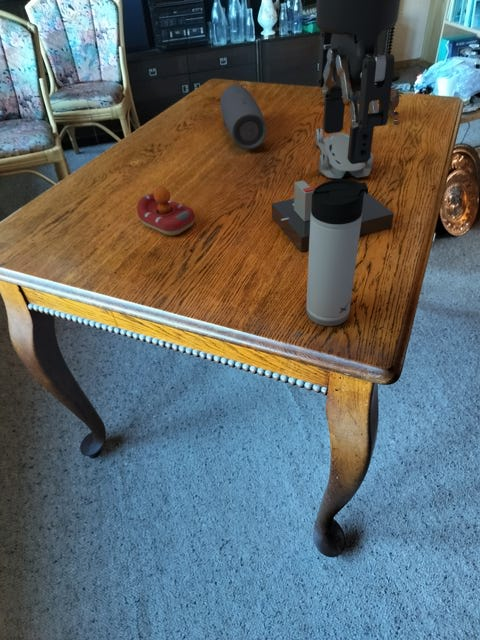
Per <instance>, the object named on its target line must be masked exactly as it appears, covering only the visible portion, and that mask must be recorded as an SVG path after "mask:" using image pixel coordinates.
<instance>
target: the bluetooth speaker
mask: <svg viewBox="0 0 480 640" xmlns="http://www.w3.org/2000/svg"><path fill="white" fill-rule="evenodd" d="M219 101H220V102H219V106H220V111H221V117H222V120H223V122H224V123H223V124H224V125H225V128H226V130H227V132H228V133H229V135H230V137H231V140H232V141H233V143H235V144H236V145H237V146H238V148H241V149H243V150H253V149H256V148H258V147H260V146H261V145H262V144H263V143H264V141H265V139H266V137H267V133H268V129H267V122H266V119H265V117H264V115H263V112H262V110H261V108H260V107H259V104H258V102H257V101H256V99H255V98H254V96H253V95H252V94H251V93H250V91H249V90H248V89H247V88H245V87H244V86H242V85H240V84H232V85H229V86H227V87H226V88H225V89H224V90H223V91H222V94H221V95H220V100H219Z"/></svg>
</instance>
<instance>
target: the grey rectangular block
mask: <svg viewBox="0 0 480 640" xmlns="http://www.w3.org/2000/svg"><path fill="white" fill-rule="evenodd" d="M314 189H315V188H313V187H312V186H311V185H309V184H308V182H306V181H305V180H304V179H303V180H298V181H294V186H293V190H294V191H293V198H294V211H295V212H296V213H297V214H298V215H299V216H300V217H301V218H302V220H303V221H304V222H305V221H309V220H310V217H311V206H312V194H313V191H314Z"/></svg>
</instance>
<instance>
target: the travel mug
mask: <svg viewBox="0 0 480 640" xmlns="http://www.w3.org/2000/svg"><path fill="white" fill-rule="evenodd" d="M313 189H314V191H313V194H312V206H311V217H310V239H309V250H308V262H307V266H308V267H307V282H306V284H307V285H306V305H305V306H306V307H305V313H306V316H307V317H308V319H309V320H310V321H311V322H313V323H315V324H316V325H320V326H324V327H335V326H340V325H341V324H343V323H344V322H346V321H347V320H348V319H349V316H350V312H351V303H352V296H353V288H354V282H355V281H354V280H355V274H356V265H357V258H358V257H357V256H358V250H359V241H360V237H359V235H360V227H361V218H362V207H363V198H364V193H365V192H366V194H368V193H369V187H368V185H367V183H366V182H365V181H361V182H360V181H357V180H354V179H347V178H346V179H345V178H341V179H332V180H327V181H325V182H323V183H320V184H319V185H317V186H316V187H315V188H313Z"/></svg>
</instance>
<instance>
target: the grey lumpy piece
mask: <svg viewBox="0 0 480 640" xmlns="http://www.w3.org/2000/svg"><path fill="white" fill-rule="evenodd" d="M323 132H324V130H323V128H316V129H315V136H314V137H315V139H314V141H315V145H316V146H317V147H318V148H319V150H320V153H321V154H320V155H319V156H318V157H319V158H318V170H319V173H321V174H322V175H324V176H325V177H326V178H328V179H332V180H338V179H343V177H346V176H349V177H352V178H353V179H361V178H367V177H368V176H370V174H371V171H372V169H373V167H374V154H373V152H371V154H370V159H369V160H368V161H367V162H365V163H358V164H351V163H350V162H349V161H348V159H347V157H348V146H349V136H350V134H348V133H342V132H336V133H331V134H329V135H327V136H326V137H324V133H323Z"/></svg>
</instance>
